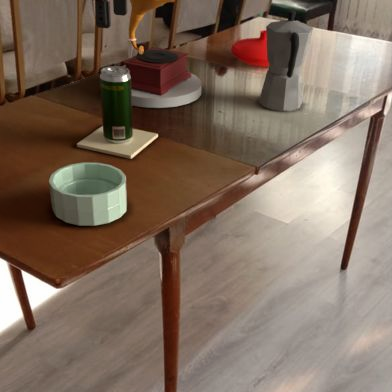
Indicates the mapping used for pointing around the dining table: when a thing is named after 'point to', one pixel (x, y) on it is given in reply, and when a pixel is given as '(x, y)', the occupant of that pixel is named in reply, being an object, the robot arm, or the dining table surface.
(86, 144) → the coaster
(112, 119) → the beer can
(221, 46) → the dining table surface
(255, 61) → the red disc with nozzle
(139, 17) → the gramophone
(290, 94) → the coffeepot
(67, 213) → the bowl
